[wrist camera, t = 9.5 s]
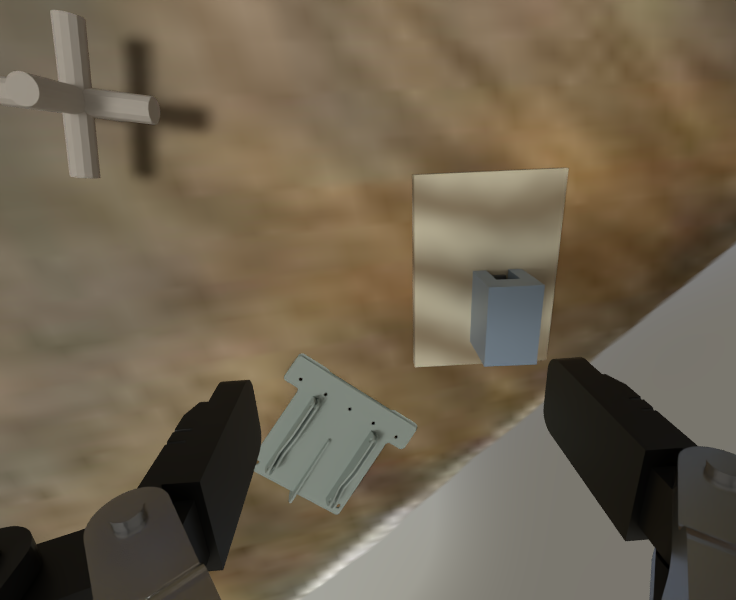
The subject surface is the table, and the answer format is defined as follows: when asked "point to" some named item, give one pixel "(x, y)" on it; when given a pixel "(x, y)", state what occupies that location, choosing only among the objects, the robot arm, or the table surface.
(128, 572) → the robot arm
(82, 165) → the grey cross-shaped piece
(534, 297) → the block
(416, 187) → the board
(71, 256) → the table surface
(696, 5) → the table surface
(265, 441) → the metal bracket
